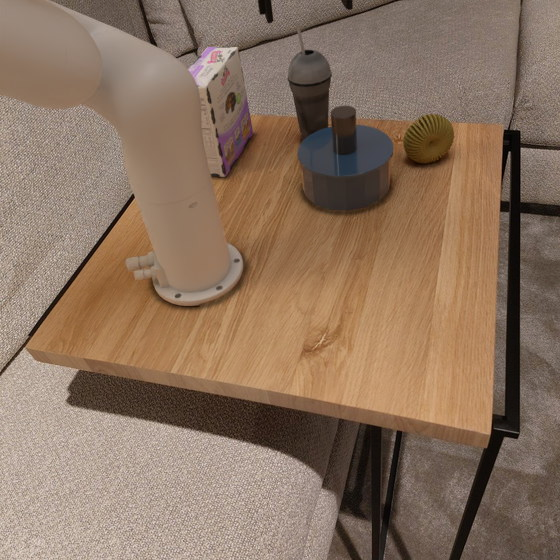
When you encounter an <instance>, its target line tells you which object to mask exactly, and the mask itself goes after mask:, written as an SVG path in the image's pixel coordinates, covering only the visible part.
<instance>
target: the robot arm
mask: <svg viewBox="0 0 560 560" xmlns="http://www.w3.org/2000/svg"><path fill="white" fill-rule="evenodd" d="M353 1H354V0H341V3H342V5H343V7H344V8H345V9H346V10H348V11H352V10H353V8H354V6H353V5H354V3H353ZM257 6H258V12H259V15H260V16H263V15H264V17H265V20H266V23H267V24H272V23H273V22H274V13H273V5H272V0H257ZM188 69H189V68H187V66H186V65H185V64H184V63H183V62H181V61H180V60H179V59H178V58H177V57H175V56H174V55H173V54H171V53H170V52H167V51H166V50H164V49H162V48H160V47H158V46H157V45H154V44H152V43H150V42H148V41H146V40H143V39H141V38H139V37H136V36H134V35H132V34H130V33H128V32H126V31H124V30H121V29H120V28H117V27H115V26H112V25H109V24H107V23H104V22H102V21H100V20H97V19H95V18H93V17H90V16H88V15H85V14H83V13H81V12H78V11H76V10H73V9H71V8H69V7H67V6H65V5H61V4H59V3H57V2H55V1H52V0H0V96H4V97H7V98H11V99H13V100H17V101H19V102H22V103H26V104H28V105H30V106H31V105H32V106H34V107H38V108H43V109H48V110H65V109H72V108H74V107H78V106H79V105H82V106H84V107H87V108H89V109H91V110H93V112H95V113H96V114H98V115H99V116H101V118H103V119H104V120H105V121H107V122H108V123H109V124H111V125H112V126H113V128H114V129H115V130H116V132H117V134H118V136H119V139H120V142H121V146H122V148H121V149H122V157H123V158H122V159H123V165H124V169H125V174H126V177H127V179H128V180H127V181H128V183H129V186H130V189H131V191H132V194H133V196H134V198H135V201H136V204H137V207H138V209H139V213H140V215H141V218H142V222H143V224H144V227H145V230H146V233H147V236H148V238H149V241H150V244H151V246H152V250H151V251H148V252H147V254H145V255H140V256H139V255H138V256H131V257H126V258H125V266H126V270H127V272H128V273H132V272H133V276H134V280H135V281H136V282H138V281H143V280H146V279H152V284H153V286H154V289H155V292H156V293H157V295H158V296H159V297H161V298H162V299H163V300H164V301H166V302H167V303H170V304H173V305H177V306H184V307H194V306H200V304H204V303H208V302H210V301H213V300H216V299H219V298H220V297H222V296H224V295H225V294H227V293H228V292H230V291H231V290H232V289H233V288H234V287H235V286H236V285H237V284H238V282H240V279H241V277H242V275H243V271H244V260H243V256H242V254H241V252H240V251H239V250H238V249H237V247H235V246H234V245H232V244H231V243H229V242H228V241H227V237H226V233H225V229H224V224H223V221H222V216H221V212H220V207H219V204H218V203H219V202H218V199H217V195H216V192H215V187H214V183H213V177H212V176H211V174H210V170H209V166H208V162H207V157H206V153H205V147H204V142H203V135H202V123H201V100H200V94H199V90H198V87H197V84H196V82H195V80H194V78H193V76H192V74H191V73H190V72H189V70H188Z"/></svg>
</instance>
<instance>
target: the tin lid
mask: <svg viewBox="0 0 560 560" xmlns="http://www.w3.org/2000/svg"><path fill="white" fill-rule="evenodd" d="M330 124H331V125H330V126H328V127H327V128H324V129H321V130H318V131H316V132H314V133H313V134H311V135H309V136H308V137H307V138H305V139H304V140H303V141H302V140H301V143H300V144H299V145H298V149H297V158H298V159H297V160H298V161H299V165H300V164H301V165H302V166H303V167H304V168H305V169H306V170H308V171H309V172H311V173H313V174H316V175H319V176H322V177H327V178H336V179H345V178H354V177H360V176H364V175H367V174H370V173H372V172H375V171H377V170H378V169H380V168H382V167H383V166H384V165H385V164H387V163H388V161H389V160H390V159H391V160H392V157H393V154H394V147H395V146H394V143H393V140H392V139H391V137H390V136H389V135H388V134H387V133H385V132H384V131H383V130H380V129H378V128H376V127H373V126H370V125H364V124H357V109H356V108H355V107H353V106H350V105H339V106H336V107H334V108H332V109H331V110H330Z"/></svg>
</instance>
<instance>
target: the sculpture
mask: <svg viewBox="0 0 560 560" xmlns="http://www.w3.org/2000/svg"><path fill="white" fill-rule="evenodd" d="M454 139H455V129H454V126H453V125H452V123H451V121H450V120H449V119H448V118H446V117H445V116H443V115H441V114H438V113H437V114H434V113H430V114H425V115H422V116H420V117H418V118H417V119H415V120H414V121H413V122H412V123H411V124H410V125H408V128H407V129H406V130H405V133H404V136H403V140H402V142H403V143H402V144H403V150H404V152H405V154H406V155H407V157H408V158H409V159H410V160H412V161H413V162H414V163H418V164H431V163H434V162H436V161H439V160H440V159H442V158H443V157H444V156H445V155H446V154H448V152H449V151H450V149H451V147H452V146H453V143H454Z"/></svg>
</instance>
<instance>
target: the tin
mask: <svg viewBox="0 0 560 560" xmlns="http://www.w3.org/2000/svg"><path fill="white" fill-rule="evenodd" d="M391 161H392V158H391V159H390V160H389V161H388V163H387V164H385V165H384V166H383V167H382V168H380V169H378V170H377V171H375V172H372V173H370V174H367V175H364V176H360V177H354V178H345V179H336V178H327V177H322V176H319V175H316V174H313V173H311V172H309V171H308V170H306V169H305V168H304V167H303V166H302V165H301V164H300V163H299V166H300V176H301V177H300V178H301V185H302V190H303V193H304V197H305V198H306V199H308V200H309V201H310V202H311V203H312V204H313V205H315V206H317V207H319V208H320V207H321V208H323V209H326V210H330V211H343V212H348V211H354V210H359V209H360V210H361V209H365V208H367V207H369V206H372V205H374V204H375V203H377V202H380V201H381V200H382V199H383V198H384V197H385V196H386V195H387V193H389V189H390V186H391V169H392V167H391V163H392V162H391Z"/></svg>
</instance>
